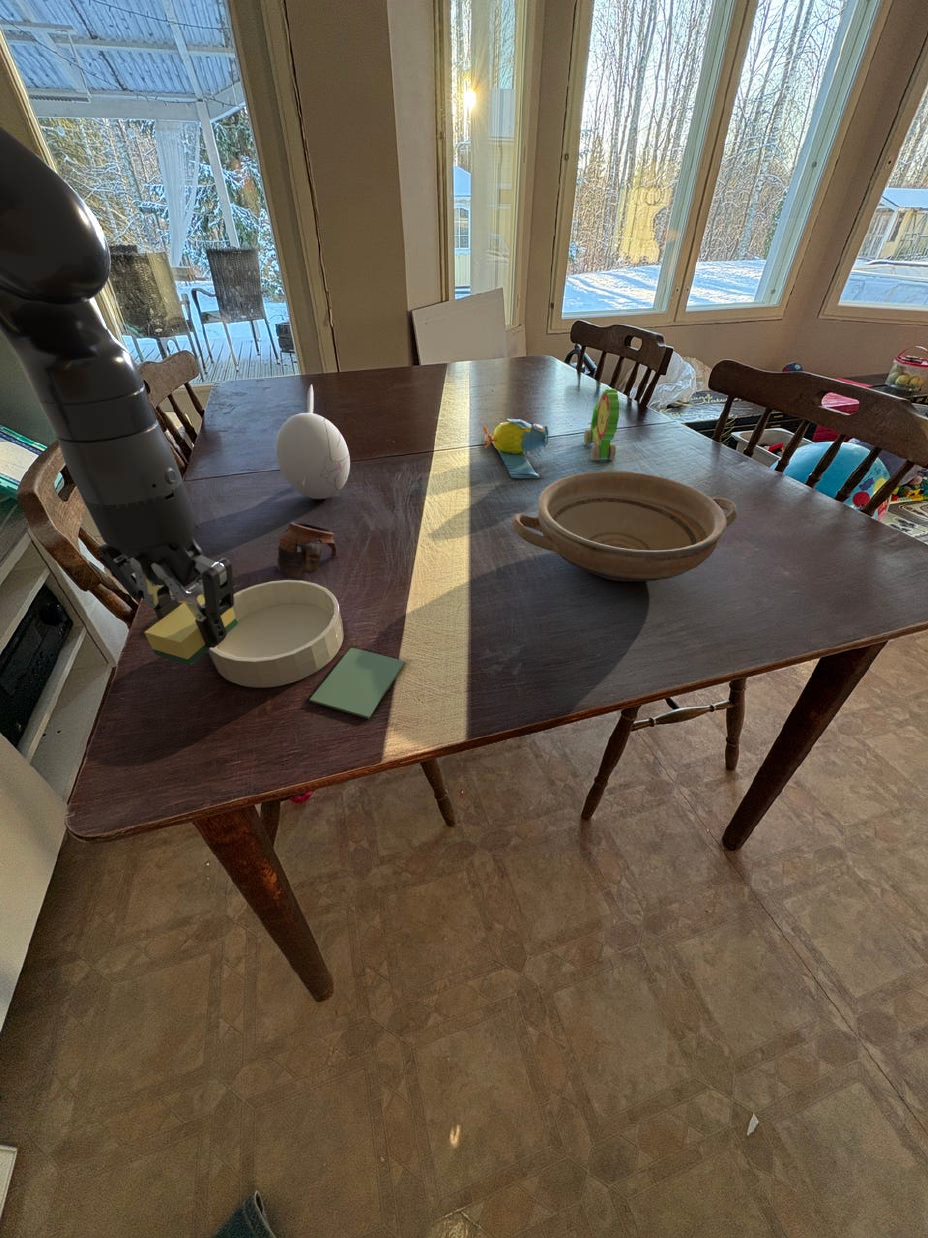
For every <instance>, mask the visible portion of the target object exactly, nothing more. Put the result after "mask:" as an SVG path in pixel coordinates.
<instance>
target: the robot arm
mask: <svg viewBox="0 0 928 1238" xmlns="http://www.w3.org/2000/svg"><path fill="white" fill-rule="evenodd" d="M110 273H111V254H110V248H109V244H108V241H107V238H106V235H105V233H104V231H103V229H102V227H101V225H100V223H99V221H98V220H97V218H96V216H95V215H94V214H93V212H92V210H91V209H90V208H89V207H88V205H87V204H86V203H85V201H84V200H83V199H82V198H81V197H80V196H79V194H77V192H76V191H75V190H74V188H73V187H71V186H70V185H69V183H67V182H66V181H65V180H64V178H62V177H61V175H59V173H58V172H56V171H55V170H54V169H53V168H52V167H51V166H49V164H47V163H46V162H45V161H44V160H43V159H42V158H41V157H40V156H38V155H37V154H36V153H35V152H34V151H33V150H31V149H30V148H29V147H28V146H27V145H26V144H24V143H23V142H22V141H20V140H19V139H18V138H17V137H15V136H14V135H13V134H12V133H10V132H9V131H8V130H7V129H6V128H4V127H3V126H2V125H0V332H1V334H2V335H3V336H4V338H5V339H6V341H7V342H8V344H9V345H10V347H11V348H12V350H13V352H14V353H15V355H16V357H17V358H18V360H19V362H20V363H21V365H22V367H23V369H24V372H25V374H26V376H27V378H28V381H29V383H30V386H31V389H32V391H33V393H34V395H35V397H36V400H37V401H38V403H39V405H40V408H41V409H42V412H43V414H44V416H45V418H46V420H47V421H48V424H49V427H50V428H51V430H52V432H53V434H54V435H55V438H56V440H57V442H58V445H59V448H60V451H61V454H62V458H63V460H64V463H65V466H66V468H67V470H68V473H69V474H70V476H71V479H72V481H73V483H74V484H75V486H76V488H77V490H78V493H79V495H80V496H81V498H82V500H83V503H84V505H85V507H86V509H87V510H88V513H89V515H90V516H91V519H92V520H93V523H94V524H95V526H96V528H97V531H98V533H99V534H100V536H101V539H102V540H103V542H104V544H102V545H100V546H98V547H97V551H98V553H99V554H100V555H101V557H102V558H103V560H104V561H105V562H106V564H107V565H108V566H109V568H110V569H111V571H112V572H113V574H114V575H115V576H116V577H117V579H118V581H119V582H120V583H121V585H122V586H123V587H124V589H125V590H126V591H127V593H128V594H129V596H130V597H131V599H133V600H136V601H138V600H139V599H143V600H144V603H145V604H146V605H147V606H148V607H149V608H150V609H153V610H154V613H155V614H156V617H157V619H158V621H160V620H161V619H163V618H164V617H165V616H167V615H168V614H169V613H171V612H172V611H173V610H175V609H176V608H177V607H179V606H180V605H181V604H183V603H185V604H186V605H187V607H188V608H189V610H190V611H191V612H192V614H193V615H194V617H195V618H196V619H195V621H196V624H197V626H198V628H199V630H200V632H201V635H202V637H203V640H204V642H205V645H206V646H208V647H211V648H215V647H216V646H217V645H218V644H219V643H221V642H222V641H223V640H224V639H225V637H226V636H227V632H226V629H225V626H224V624H223V621H222V618H221V615H222V614H224V613H225V612H226V611H227V610H228V609H230V608H232V607H233V606H234V594H235V593H234V592H235V591H234V577H233V565H232V563H231V561H230V560H229V559H226V558H225V557H224V558H223V557H222V558H221V559H218V561H215V560H213V559H211V558H208V557H206V556H205V555H204V552H203V550H202V549H201V547H200V546H199V544H198V543H197V542H196V540H195V537H194V531H195V527H196V524H197V516H196V514H195V510H194V508H193V505H192V501H191V499H190V497H189V494H188V491H187V489H186V486H185V483H184V480H183V478H182V474H181V471H180V469H179V466H178V464H177V461H176V458H175V456H174V453H173V450H172V447H171V445H170V443H169V441H168V439H167V437H166V435H165V434H164V431H163V430H162V427H161V425H160V423H159V420H158V419H157V415H156V414H155V413H156V412H155V410H154V408H153V404H152V402H151V399H150V396H149V393H148V390H147V388H146V386H145V382H144V379H143V377H142V374H141V372H140V369H139V367H138V365H137V363H136V362H135V360H134V358H133V356H132V355H131V353H130V352H129V351H128V349H127V348H126V347H125V346H124V345H122V343H120V342H119V341H118V340H117V338H115V337H114V335H113V334H112V332H111V331H110V330H109V328H108V326H107V324H106V322H105V319H104V317H103V315H102V313H101V310H100V308H99V306H98V304H97V301H96V299H95V297H96V296H98V295H99V293H101V292H102V291H103V289H104V288H105V286H106V284H107V283H108V280H109V277H110ZM133 574H134V577H135V581H136V583H135V581H134V580H133V578H132V575H133ZM194 581H195V582H194ZM193 582H194V584H193V585H191V586H190V587H188V586H189V585H190V584H192V583H193ZM186 587H188V588H187V589H185V588H186ZM199 595H202V596H203V597H204V599H205V603H204V604H203V605H202V606H201V605H200V604H199V602H198V601H197V597H198V596H199ZM179 603H180V604H179Z"/></svg>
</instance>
